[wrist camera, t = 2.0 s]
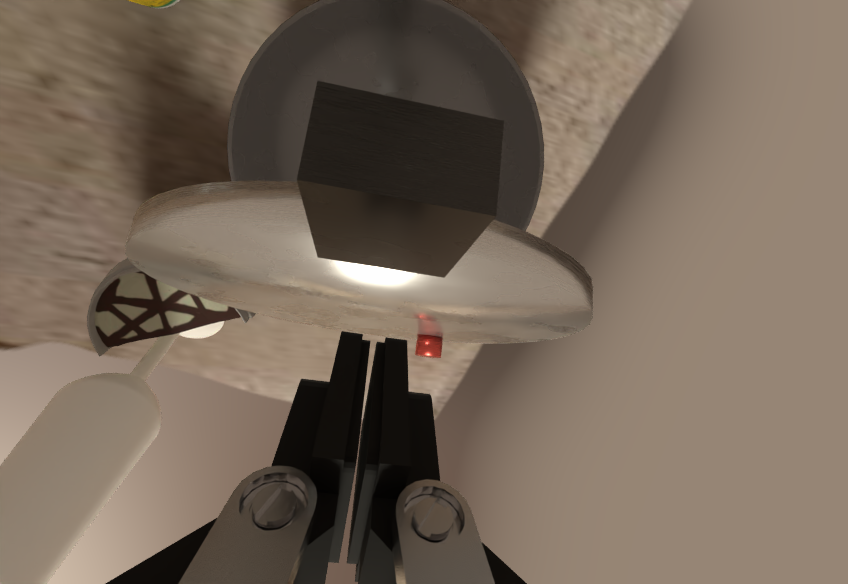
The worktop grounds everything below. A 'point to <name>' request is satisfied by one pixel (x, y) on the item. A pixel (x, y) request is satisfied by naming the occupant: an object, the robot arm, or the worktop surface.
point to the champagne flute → (75, 463)
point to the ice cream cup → (147, 309)
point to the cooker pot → (385, 86)
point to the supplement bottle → (156, 3)
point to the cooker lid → (371, 234)
